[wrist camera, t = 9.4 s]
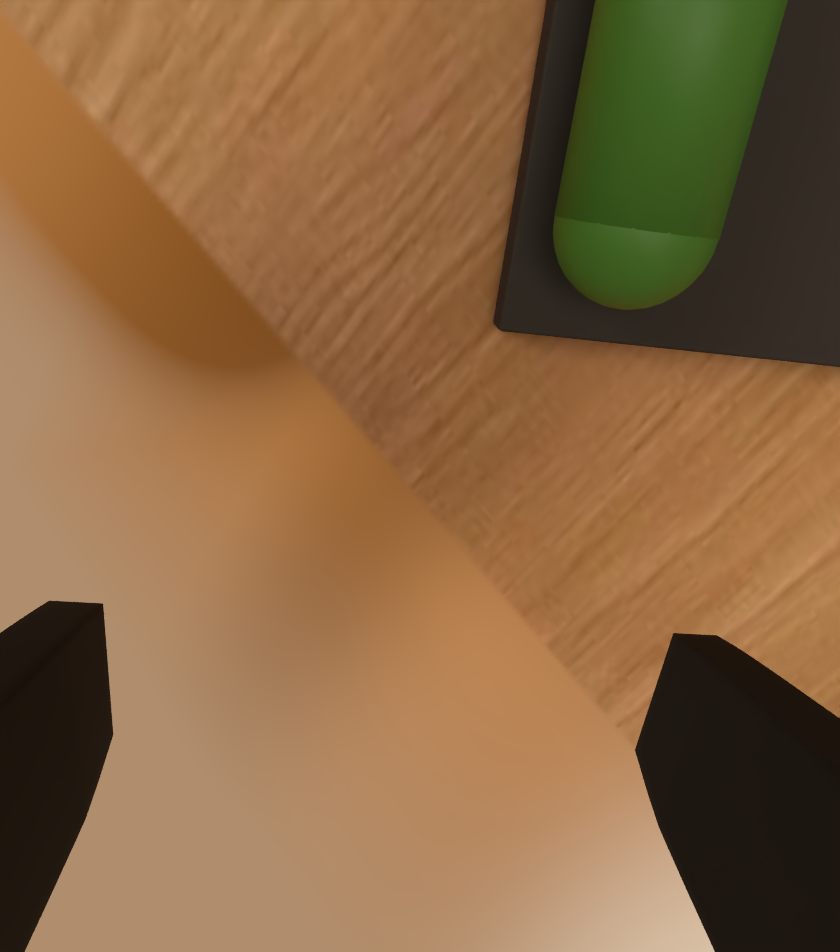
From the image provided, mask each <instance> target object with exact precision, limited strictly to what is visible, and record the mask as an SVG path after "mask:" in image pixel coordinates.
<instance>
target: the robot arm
mask: <svg viewBox="0 0 840 952" xmlns="http://www.w3.org/2000/svg"><path fill="white" fill-rule="evenodd" d="M112 737H113V726H112V713H111V702H110V689H109V675H108V662H107V649H106V636H105V624H104V611H103V604H100V603H82V602H80V603H79V602H61V601H48V602H47V603H45V604H43V605H42V606H40V607H39V608H37V609H35V610H34V611H32V612H31V613H29V614H28V615H26V616H25V617H24V618H22V619H20V620H19V621H17V622H16V623H14V624H13V625H11V626H10V627H8V628H7V629H5V630H4V631H3V632H1V633H0V952H25V949H26V947H27V945H28V943H29V941H30V939H31V936H32V934H33V932H34V930H35V928H36V926H37V924H38V921H39V919H40V917H41V915H42V913H43V911H44V909H45V906H46V904H47V902H48V900H49V898H50V896H51V894H52V891H53V889H54V887H55V885H56V883H57V880H58V878H59V876H60V874H61V872H62V869H63V867H64V865H65V863H66V861H67V859H68V856H69V854H70V852H71V850H72V848H73V845H74V843H75V841H76V839H77V837H78V834H79V832H80V830H81V827H82V825H83V823H84V821H85V818H86V816H87V813H88V810H89V807H90V804H91V801H92V798H93V795H94V793H95V790H96V787H97V784H98V781H99V778H100V775H101V771H102V768H103V765H104V762H105V759H106V756H107V752H108V749H109V746H110V743H111V740H112ZM635 751H636V755H637V758H638V762H639V765H640V768H641V772H642V775H643V779H644V782H645V786H646V789H647V792H648V795H649V798H650V801H651V804H652V807H653V810H654V813H655V817H656V820H657V822H658V826H659V828H660V830H661V833H662V835H663V837H664V840H665V842H666V844H667V847H668V849H669V851H670V853H671V856H672V857H673V860H674V862H675V865H676V867H677V869H678V871H679V874H680V876H681V878H682V880H683V882H684V885H685V887H686V889H687V891H688V894H689V896H690V898H691V900H692V902H693V904H694V907H695V909H696V911H697V913H698V916H699V918H700V920H701V922H702V924H703V926H704V929H705V931H706V933H707V935H708V937H709V940H710V942H711V944H712V946H713V948H714V951H715V952H840V718H838V717H837V716H835V715H834V714H832V713H831V712H830V711H828V710H827V709H825V708H824V707H823V706H821V705H820V704H818V703H817V702H815V701H814V700H813V699H811V698H810V697H808V696H807V695H806V694H804V693H803V692H801V691H800V690H798V689H797V688H796V687H794V686H793V685H791V684H790V683H789V682H787V681H786V680H784V679H783V678H781V677H780V676H779V675H777V674H776V673H774V672H773V671H771V670H770V669H768V668H767V667H765V666H764V665H763V664H761V663H760V662H758V661H757V660H755V659H754V658H752V657H751V656H749V655H748V654H746V653H745V652H743V651H742V650H740V649H738V648H737V647H735V646H734V645H732V644H730V643H729V642H727V641H725V640H724V639H722V638H720V637H719V636H717V635H697V634H678V633H673V636H672V639H671V642H670V645H669V648H668V651H667V654H666V657H665V661H664V664H663V667H662V670H661V673H660V676H659V679H658V682H657V685H656V688H655V691H654V694H653V697H652V700H651V703H650V706H649V709H648V712H647V715H646V718H645V721H644V724H643V727H642V730H641V733H640V736H639V740H638V743H637V746H636V749H635Z"/></svg>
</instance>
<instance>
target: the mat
mask: <svg viewBox="0 0 840 952" xmlns="http://www.w3.org/2000/svg"><path fill="white" fill-rule="evenodd" d="M594 5H595V0H547V4H546V10H545V16H544V22H543V28H542V34H541V40H540V46H539V52H538V58H537V64H536V70H535V76H534V82H533V88H532V94H531V100H530V106H529V112H528V118H527V124H526V130H525V136H524V142H523V148H522V154H521V160H520V166H519V172H518V178H517V184H516V190H515V196H514V202H513V208H512V214H511V220H510V226H509V232H508V238H507V244H506V250H505V256H504V262H503V268H502V274H501V280H500V286H499V292H498V298H497V304H496V310H495V316H494V324H495V325H496V327H497V328H498V329H499V330H501V331H507V332H516V333H526V334H535V335H545V336H554V337H564V338H573V339H582V340H592V341H601V342H611V343H620V344H630V345H639V346H648V347H658V348H667V349H677V350H686V351H695V352H705V353H714V354H724V355H733V356H743V357H752V358H761V359H771V360H780V361H790V362H799V363H809V364H818V365H827V366H837V367H840V0H788V2H787V5H786V9H785V12H784V16H783V19H782V23H781V26H780V30H779V33H778V37H777V40H776V44H775V47H774V51H773V54H772V58H771V61H770V65H769V68H768V72H767V75H766V79H765V82H764V86H763V89H762V93H761V96H760V100H759V103H758V107H757V110H756V114H755V117H754V121H753V124H752V128H751V131H750V135H749V138H748V142H747V145H746V149H745V152H744V156H743V159H742V163H741V166H740V170H739V173H738V177H737V180H736V184H735V187H734V191H733V194H732V198H731V201H730V205H729V208H728V212H727V215H726V219H725V222H724V226H723V229H722V233H721V236H720V239H719V241H718V244H717V246H716V249H715V252H714V254H713V256H712V258H711V260H710V261H709V263H708V265H707V266H706V268H705V269H704V271H703V272H702V273H701V275H700V276H699V277H698V278H697V279H696V280H695V281H694V282H693V283H692V285H690V286H689V287H688V288H686V289H685V290H684V291H683V292H681V293H680V294H679V295H677V296H675V297H674V298H672V299H670V300H668V301H666V302H664V303H662V304H658V305H655V306H652V307H648V308H644V309H634V310H621V309H614V308H609V307H606V306H603V305H600V304H598V303H596V302H594V301H592V300H590V299H588V298H587V297H585V296H584V295H583V294H582V293H580V292H579V291H578V290H576V289H575V287H574V286H573V285H572V284H571V283H570V282H569V280H568V279H567V278H566V276H565V275H564V273H563V271H562V269H561V267H560V265H559V263H558V259H557V256H556V253H555V249H554V240H553V226H554V215H555V209H556V204H557V199H558V194H559V188H560V183H561V178H562V173H563V167H564V162H565V157H566V152H567V146H568V141H569V136H570V131H571V125H572V120H573V115H574V110H575V104H576V99H577V94H578V89H579V83H580V78H581V73H582V68H583V62H584V57H585V52H586V47H587V41H588V36H589V31H590V26H591V20H592V15H593V10H594Z"/></svg>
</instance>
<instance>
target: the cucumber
mask: <svg viewBox="0 0 840 952" xmlns="http://www.w3.org/2000/svg"><path fill="white" fill-rule="evenodd" d="M787 2H788V0H595V5H594V10H593V15H592V20H591V26H590V31H589V36H588V41H587V47H586V52H585V57H584V62H583V68H582V73H581V78H580V83H579V89H578V94H577V99H576V104H575V110H574V115H573V120H572V125H571V131H570V136H569V141H568V146H567V152H566V157H565V162H564V167H563V173H562V178H561V183H560V188H559V194H558V199H557V204H556V209H555V215H554V226H553V240H554V249H555V253H556V256H557V259H558V263H559V265H560V267H561V269H562V271H563V273H564V275H565V276H566V278H567V279H568V280H569V282H570V283H571V284H572V285H573V286H574V287H575V289H576V290H578V291H579V292H580V293H582V294H583V295H584V296H585V297H587V298H588V299H590V300H592V301H594V302H596V303H598V304H600V305H603V306H606V307H609V308H614V309H621V310H634V309H644V308H648V307H652V306H655V305H658V304H662V303H664V302H666V301H668V300H670V299H672V298H674V297H675V296H677V295H679V294H680V293H681V292H683V291H684V290H685V289H686V288H688V287H689V286H690V285H692V283H693V282H694V281H695V280H696V279H697V278H698V277H699V276H700V275H701V273H702V272H703V271H704V269H705V268H706V266H707V265H708V263H709V261H710V260H711V258H712V256H713V254H714V252H715V249H716V246H717V244H718V241H719V239H720V236H721V233H722V229H723V226H724V222H725V219H726V215H727V212H728V208H729V205H730V201H731V198H732V194H733V191H734V187H735V184H736V180H737V177H738V173H739V170H740V166H741V163H742V159H743V156H744V152H745V149H746V145H747V142H748V138H749V135H750V131H751V128H752V124H753V121H754V117H755V114H756V110H757V107H758V103H759V100H760V96H761V93H762V89H763V86H764V82H765V79H766V75H767V72H768V68H769V65H770V61H771V58H772V54H773V51H774V47H775V44H776V40H777V37H778V33H779V30H780V26H781V23H782V19H783V16H784V12H785V9H786V5H787Z"/></svg>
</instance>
